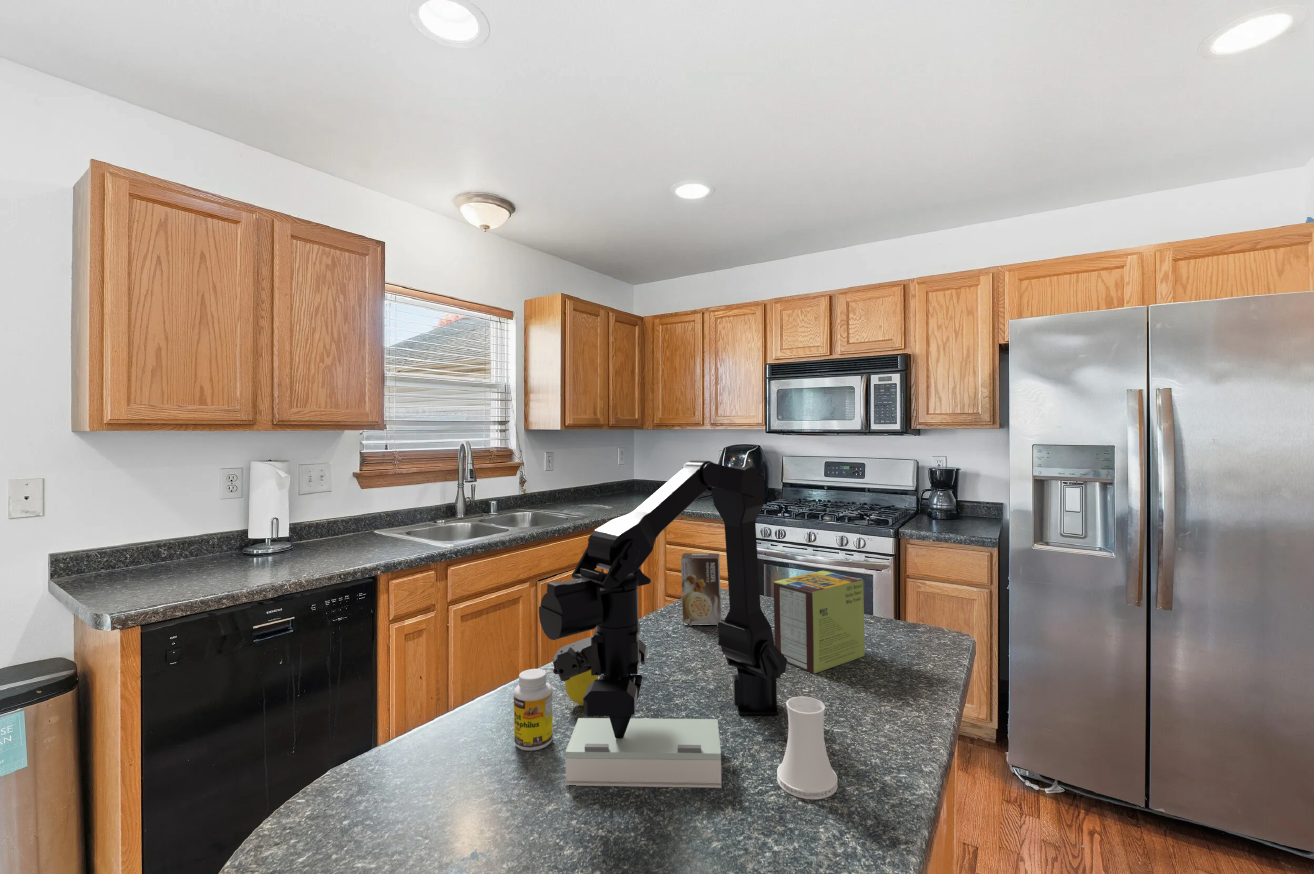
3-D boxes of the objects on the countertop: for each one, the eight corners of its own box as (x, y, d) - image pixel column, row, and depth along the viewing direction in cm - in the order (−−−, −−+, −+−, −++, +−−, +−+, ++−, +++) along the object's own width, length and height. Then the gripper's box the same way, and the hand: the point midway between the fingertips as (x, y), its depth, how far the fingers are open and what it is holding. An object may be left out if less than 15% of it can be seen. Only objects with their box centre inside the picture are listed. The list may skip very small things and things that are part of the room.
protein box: (866, 656, 118) (864, 578, 118) (814, 674, 110) (812, 591, 110) (824, 641, 127) (823, 569, 127) (773, 657, 118) (771, 580, 118)
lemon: (593, 714, 96) (592, 665, 96) (560, 711, 97) (559, 663, 97) (602, 699, 101) (602, 652, 101) (572, 697, 102) (571, 650, 102)
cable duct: (718, 749, 84) (717, 725, 84) (721, 787, 75) (721, 760, 75) (579, 748, 85) (578, 724, 85) (566, 785, 76) (565, 758, 76)
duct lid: (717, 724, 84) (717, 714, 84) (721, 759, 75) (720, 748, 75) (578, 723, 85) (578, 713, 85) (565, 757, 76) (565, 747, 76)
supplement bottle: (507, 749, 85) (505, 679, 85) (526, 731, 91) (525, 664, 91) (541, 755, 84) (540, 683, 84) (559, 735, 89) (558, 668, 89)
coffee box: (722, 618, 144) (721, 552, 144) (720, 627, 138) (719, 558, 138) (684, 617, 146) (683, 552, 146) (681, 625, 139) (680, 557, 139)
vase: (827, 807, 71) (826, 724, 71) (768, 788, 75) (767, 709, 75) (844, 775, 77) (842, 699, 77) (788, 759, 81) (787, 687, 81)
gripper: (572, 601, 89) (574, 704, 89) (540, 646, 71) (542, 776, 71) (645, 601, 89) (647, 705, 89) (632, 646, 70) (635, 778, 70)
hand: (619, 737), depth 80 cm, fingers closed
